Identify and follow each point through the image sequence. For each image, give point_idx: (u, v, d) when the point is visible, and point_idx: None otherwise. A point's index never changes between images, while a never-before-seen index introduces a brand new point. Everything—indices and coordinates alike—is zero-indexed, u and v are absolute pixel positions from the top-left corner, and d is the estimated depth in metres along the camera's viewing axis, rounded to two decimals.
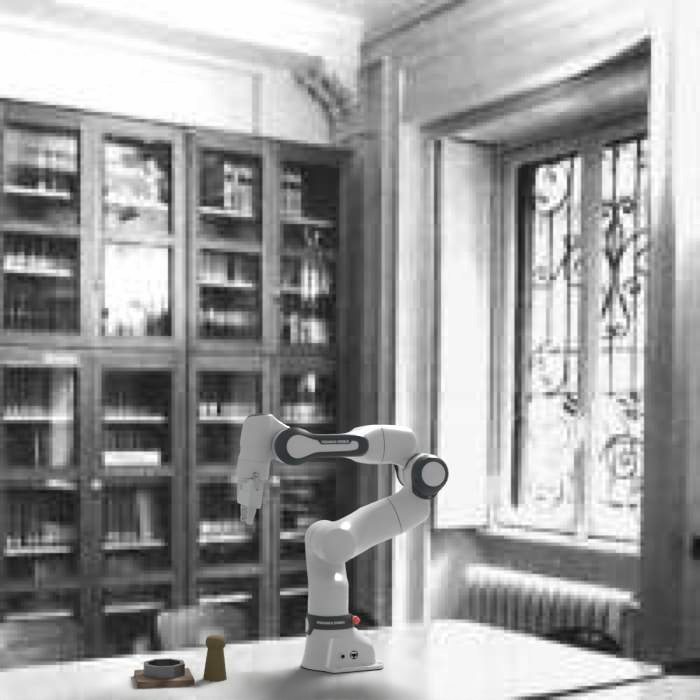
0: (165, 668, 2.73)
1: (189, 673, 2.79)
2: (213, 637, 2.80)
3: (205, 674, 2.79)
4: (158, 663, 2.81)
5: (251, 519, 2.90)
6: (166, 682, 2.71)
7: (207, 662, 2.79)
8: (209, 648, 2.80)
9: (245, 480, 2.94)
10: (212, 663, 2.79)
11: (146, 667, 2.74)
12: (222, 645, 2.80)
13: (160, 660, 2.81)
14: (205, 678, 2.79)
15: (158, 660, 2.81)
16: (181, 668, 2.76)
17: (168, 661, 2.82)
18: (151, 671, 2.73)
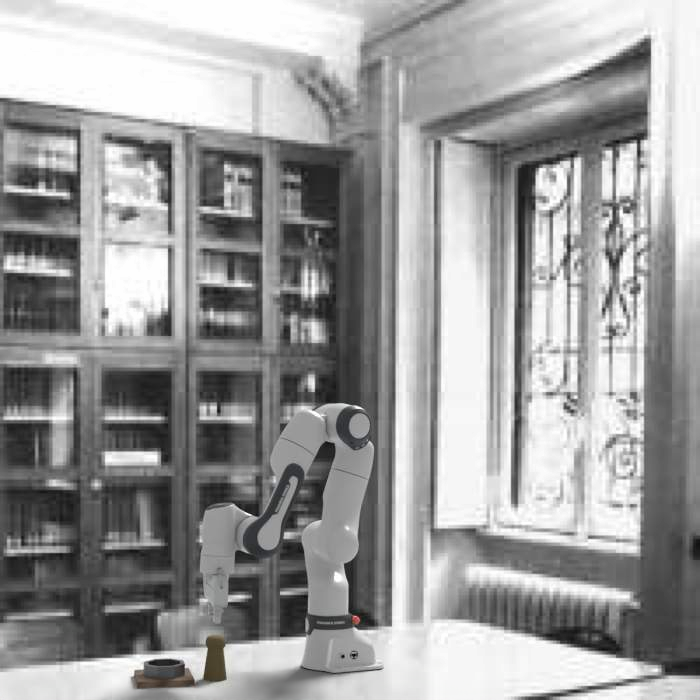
0: (165, 668, 2.73)
1: (189, 673, 2.79)
2: (213, 637, 2.80)
3: (205, 674, 2.79)
4: (158, 663, 2.81)
5: (218, 618, 2.76)
6: (166, 682, 2.71)
7: (207, 662, 2.79)
8: (209, 648, 2.80)
9: (209, 576, 2.80)
10: (212, 663, 2.79)
11: (146, 667, 2.74)
12: (222, 645, 2.80)
13: (160, 660, 2.81)
14: (205, 678, 2.79)
15: (158, 660, 2.81)
16: (181, 668, 2.76)
17: (168, 661, 2.82)
18: (151, 671, 2.73)
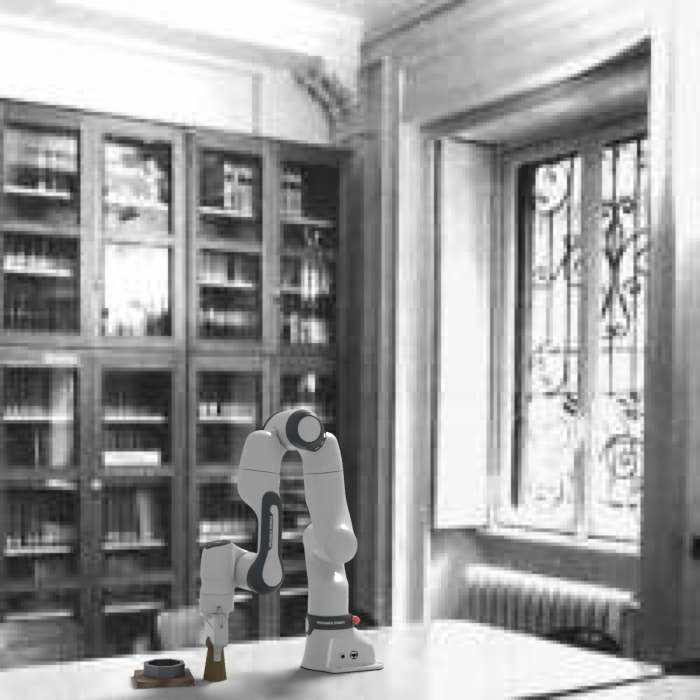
0: (165, 668, 2.73)
1: (189, 673, 2.79)
2: None
3: (205, 674, 2.79)
4: (158, 663, 2.81)
5: (218, 655, 2.78)
6: (166, 682, 2.71)
7: (207, 662, 2.79)
8: (209, 648, 2.80)
9: (209, 615, 2.79)
10: (212, 662, 2.79)
11: (146, 667, 2.74)
12: None
13: (160, 660, 2.81)
14: (205, 678, 2.79)
15: (158, 660, 2.81)
16: (181, 668, 2.76)
17: (168, 661, 2.82)
18: (151, 671, 2.73)
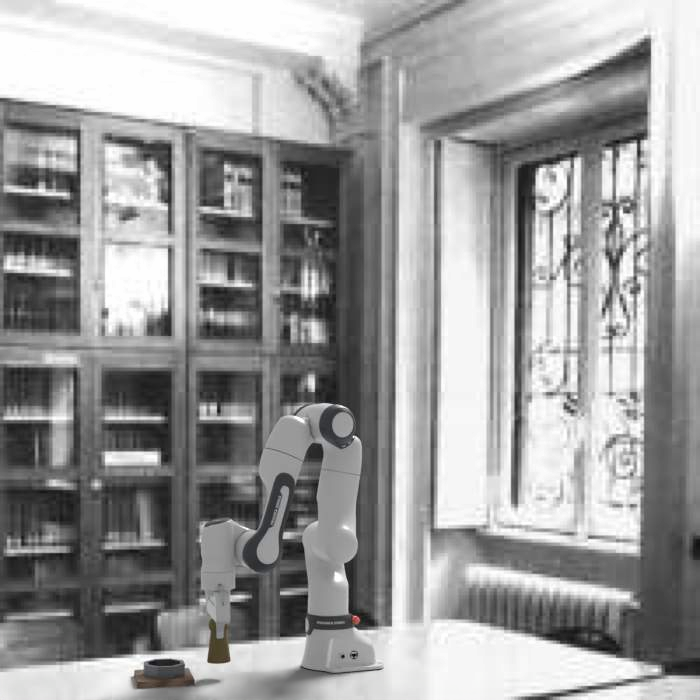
0: (165, 668, 2.73)
1: (189, 673, 2.79)
2: None
3: (209, 657, 2.80)
4: (158, 663, 2.81)
5: (221, 632, 2.79)
6: (166, 682, 2.71)
7: (210, 645, 2.80)
8: (212, 631, 2.80)
9: (211, 593, 2.80)
10: (215, 645, 2.79)
11: (146, 667, 2.74)
12: (225, 627, 2.80)
13: (160, 660, 2.81)
14: (209, 661, 2.80)
15: (158, 660, 2.81)
16: (181, 668, 2.76)
17: (168, 661, 2.82)
18: (151, 671, 2.73)
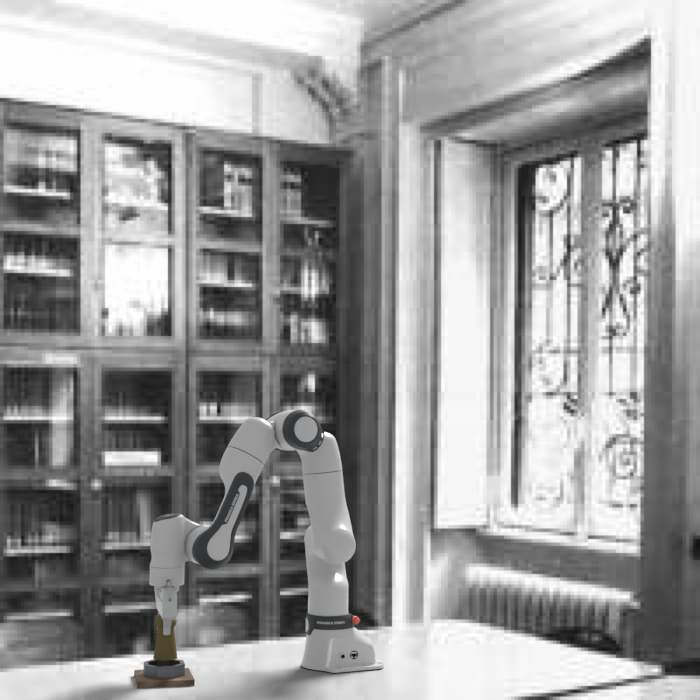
0: (165, 668, 2.73)
1: (189, 673, 2.79)
2: None
3: (155, 653, 2.76)
4: (158, 663, 2.81)
5: (168, 629, 2.75)
6: (166, 682, 2.71)
7: (157, 641, 2.77)
8: (159, 627, 2.77)
9: (159, 588, 2.76)
10: (162, 641, 2.76)
11: (146, 667, 2.74)
12: (172, 624, 2.77)
13: (160, 660, 2.81)
14: (155, 657, 2.76)
15: (158, 660, 2.81)
16: (181, 668, 2.76)
17: (168, 661, 2.82)
18: (151, 671, 2.73)
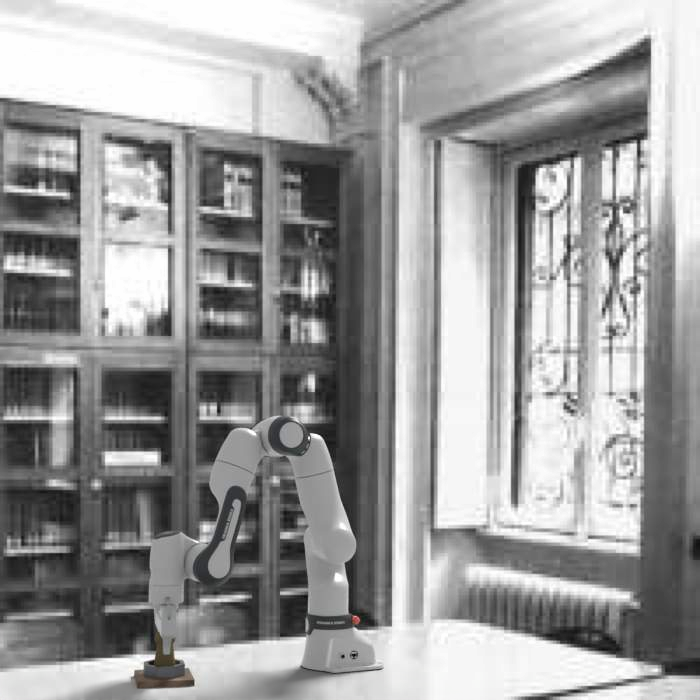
0: (165, 668, 2.73)
1: (189, 673, 2.79)
2: None
3: None
4: None
5: (167, 648, 2.73)
6: (166, 682, 2.71)
7: (156, 658, 2.76)
8: (158, 643, 2.77)
9: (158, 606, 2.76)
10: (161, 658, 2.76)
11: (146, 667, 2.74)
12: None
13: None
14: None
15: None
16: (181, 668, 2.76)
17: None
18: (151, 671, 2.73)
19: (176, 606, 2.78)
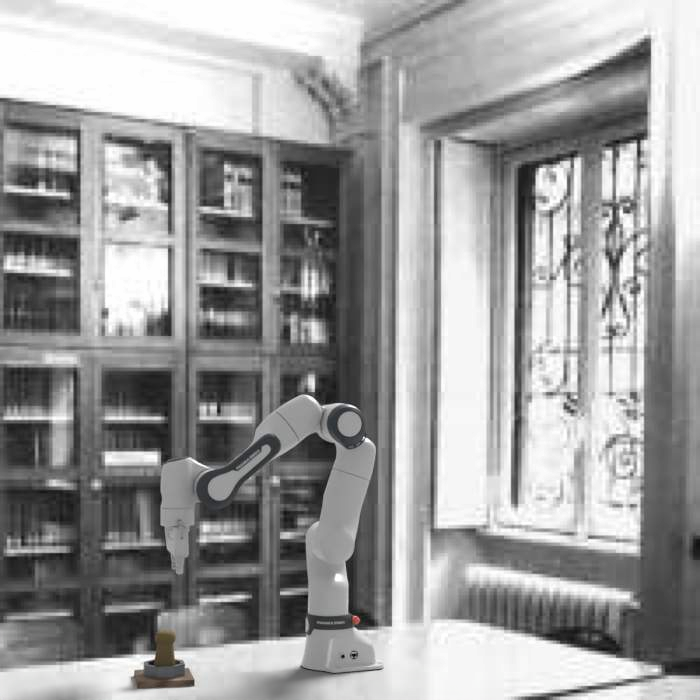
0: (165, 668, 2.73)
1: (189, 673, 2.79)
2: (162, 632, 2.77)
3: None
4: None
5: (180, 568, 2.82)
6: (166, 682, 2.71)
7: (156, 658, 2.76)
8: (158, 643, 2.77)
9: (170, 529, 2.85)
10: (161, 658, 2.76)
11: (146, 667, 2.74)
12: (171, 640, 2.77)
13: None
14: None
15: None
16: (181, 668, 2.76)
17: None
18: (151, 671, 2.73)
19: (187, 528, 2.86)
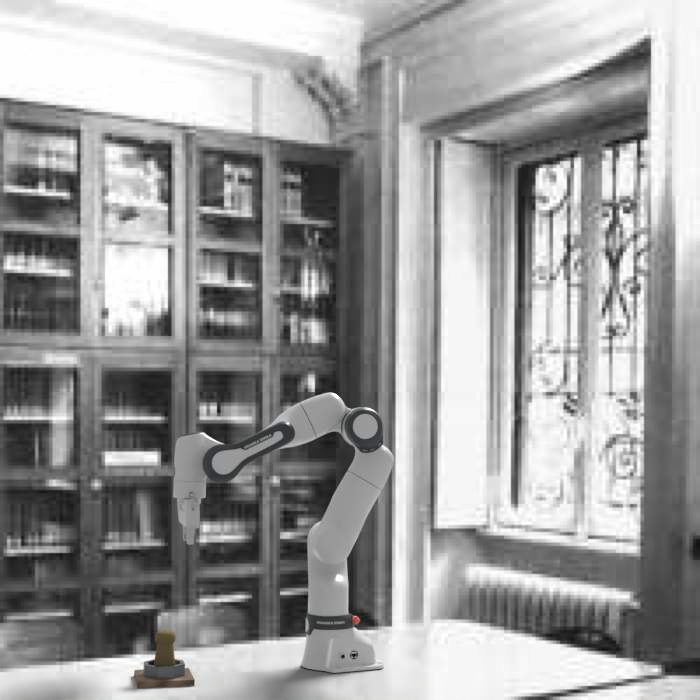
0: (165, 668, 2.73)
1: (189, 673, 2.79)
2: (162, 632, 2.77)
3: None
4: None
5: (191, 539, 2.92)
6: (166, 682, 2.71)
7: (156, 658, 2.76)
8: (158, 643, 2.77)
9: (182, 500, 2.95)
10: (161, 658, 2.76)
11: (146, 667, 2.74)
12: (171, 640, 2.77)
13: None
14: None
15: None
16: (181, 668, 2.76)
17: None
18: (151, 671, 2.73)
19: (199, 501, 2.97)
